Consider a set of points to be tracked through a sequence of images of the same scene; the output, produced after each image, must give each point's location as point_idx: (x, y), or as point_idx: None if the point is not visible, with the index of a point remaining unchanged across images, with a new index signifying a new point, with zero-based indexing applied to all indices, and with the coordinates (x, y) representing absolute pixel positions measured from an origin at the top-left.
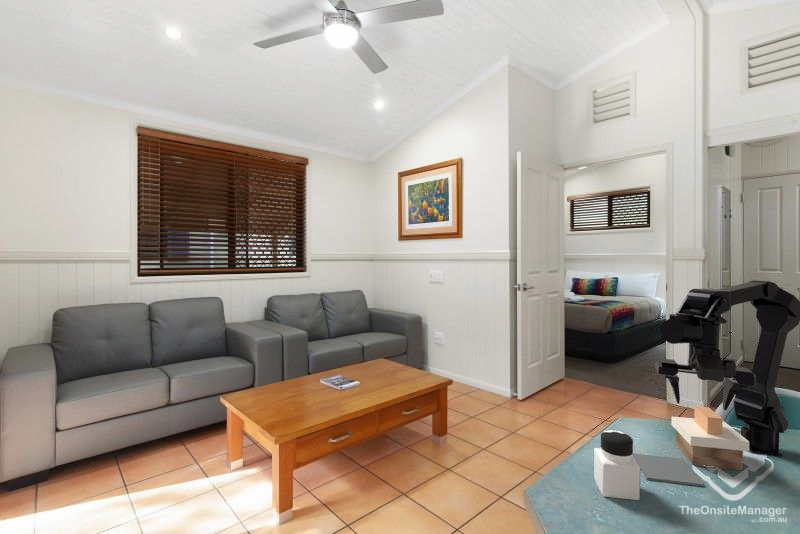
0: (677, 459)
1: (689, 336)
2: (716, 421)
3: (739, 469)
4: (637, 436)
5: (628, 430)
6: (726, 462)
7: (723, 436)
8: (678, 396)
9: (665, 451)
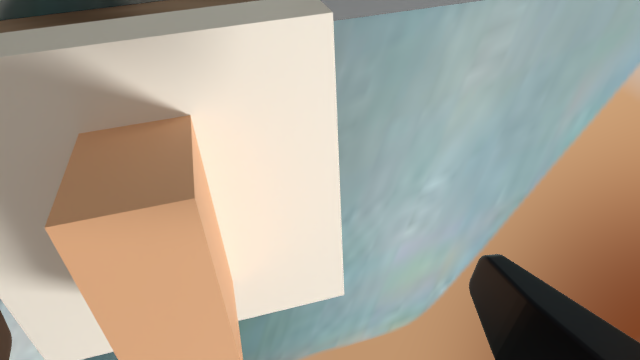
0: (337, 3)
1: None
2: (111, 192)
3: (12, 21)
4: (425, 200)
5: (439, 237)
6: (81, 21)
7: (70, 111)
8: (562, 311)
9: (356, 101)
